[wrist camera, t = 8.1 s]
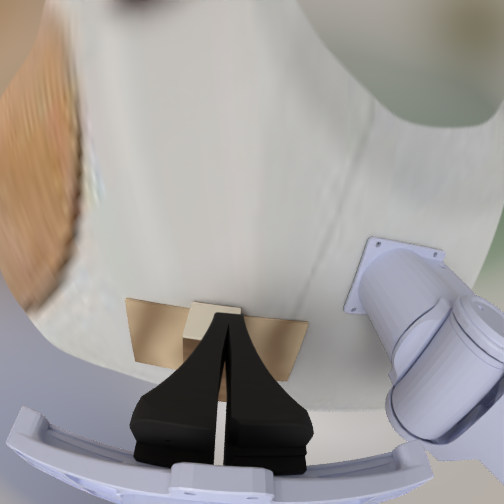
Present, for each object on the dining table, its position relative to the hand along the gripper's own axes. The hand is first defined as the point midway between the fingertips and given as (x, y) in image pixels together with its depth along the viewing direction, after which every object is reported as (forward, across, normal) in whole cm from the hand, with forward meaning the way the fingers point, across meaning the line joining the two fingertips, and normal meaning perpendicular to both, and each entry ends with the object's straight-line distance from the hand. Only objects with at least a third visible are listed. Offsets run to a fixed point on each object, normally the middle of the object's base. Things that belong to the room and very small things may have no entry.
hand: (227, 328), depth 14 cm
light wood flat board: (+10, +1, +12) cm, 16 cm away
